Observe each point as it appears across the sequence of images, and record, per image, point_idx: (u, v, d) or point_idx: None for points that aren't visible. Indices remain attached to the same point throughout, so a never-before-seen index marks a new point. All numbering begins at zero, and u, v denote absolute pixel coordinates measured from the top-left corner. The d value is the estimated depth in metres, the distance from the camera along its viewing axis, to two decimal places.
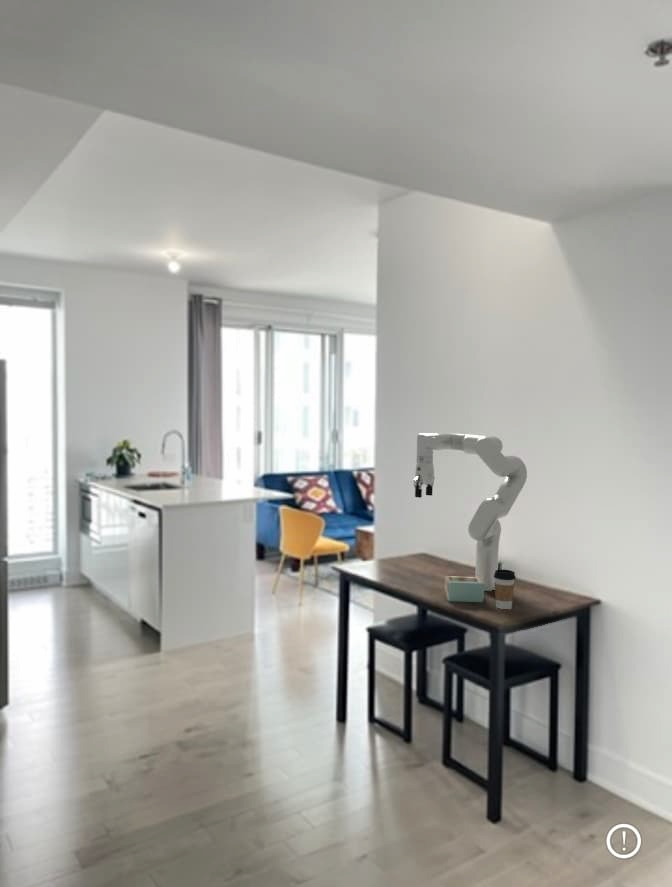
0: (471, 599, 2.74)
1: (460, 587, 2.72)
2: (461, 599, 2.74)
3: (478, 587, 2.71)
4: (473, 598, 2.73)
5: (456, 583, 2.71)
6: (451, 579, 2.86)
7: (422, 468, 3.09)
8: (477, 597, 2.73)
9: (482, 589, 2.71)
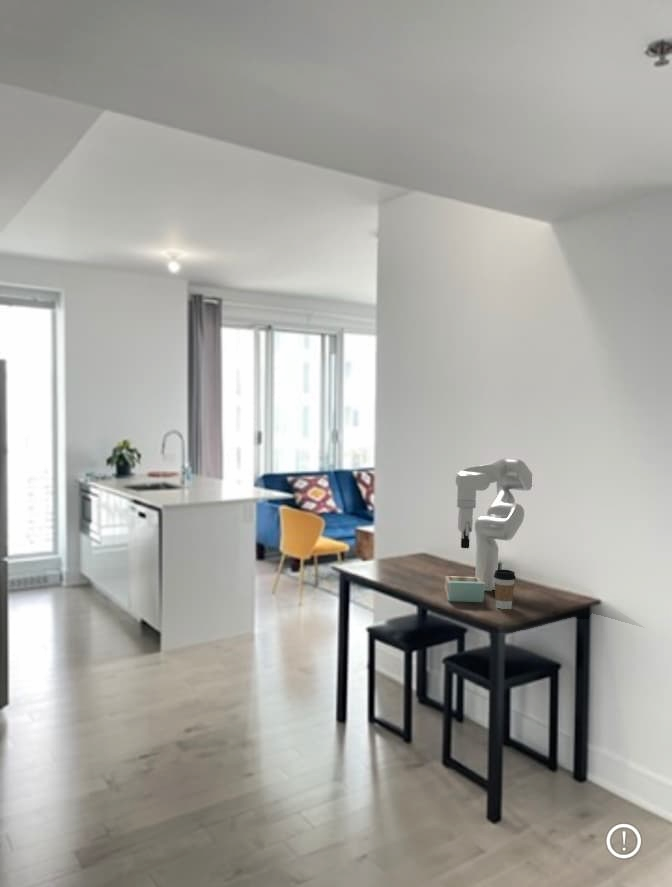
0: (471, 599, 2.74)
1: (460, 587, 2.72)
2: (461, 599, 2.74)
3: (478, 587, 2.71)
4: (473, 598, 2.73)
5: (456, 583, 2.71)
6: (451, 579, 2.86)
7: None
8: (477, 597, 2.73)
9: (482, 589, 2.71)
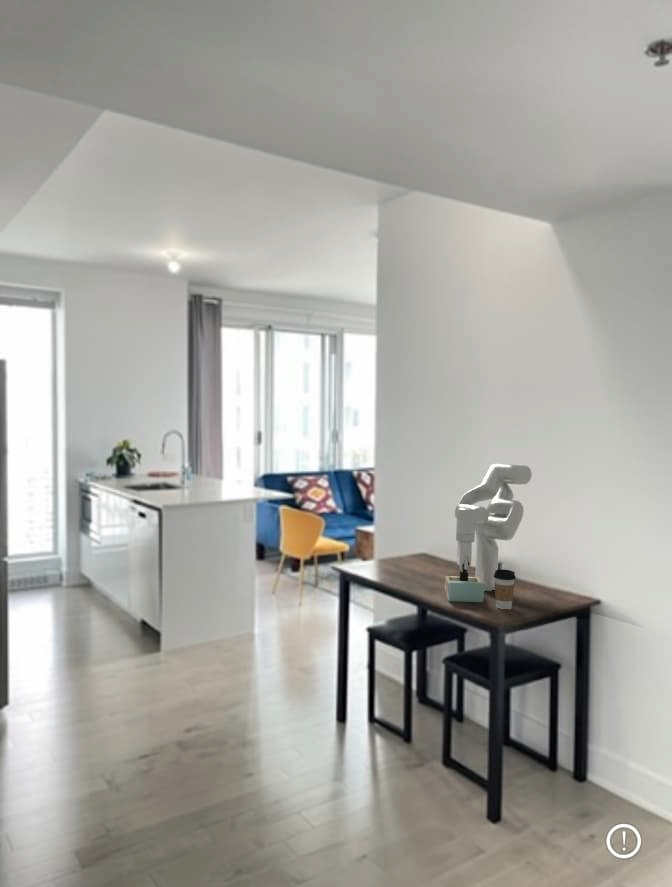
0: (471, 599, 2.74)
1: (460, 587, 2.72)
2: (461, 599, 2.74)
3: (478, 587, 2.71)
4: (473, 598, 2.73)
5: (456, 583, 2.71)
6: (451, 579, 2.86)
7: None
8: (477, 597, 2.73)
9: (482, 589, 2.71)
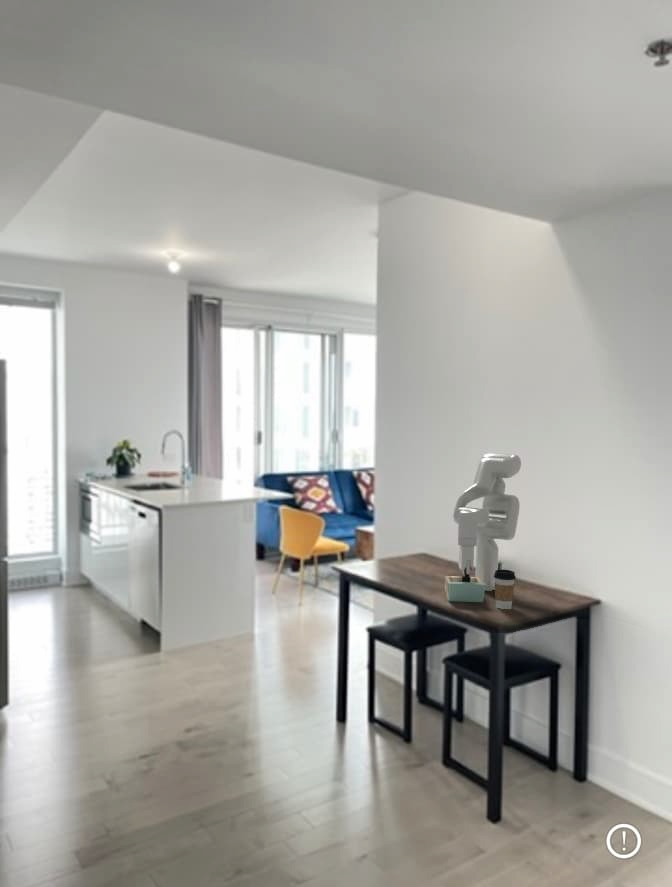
0: (471, 600, 2.74)
1: (460, 588, 2.71)
2: (461, 599, 2.74)
3: (478, 588, 2.71)
4: (473, 598, 2.73)
5: (456, 584, 2.70)
6: (451, 579, 2.86)
7: None
8: (477, 597, 2.73)
9: (482, 590, 2.71)
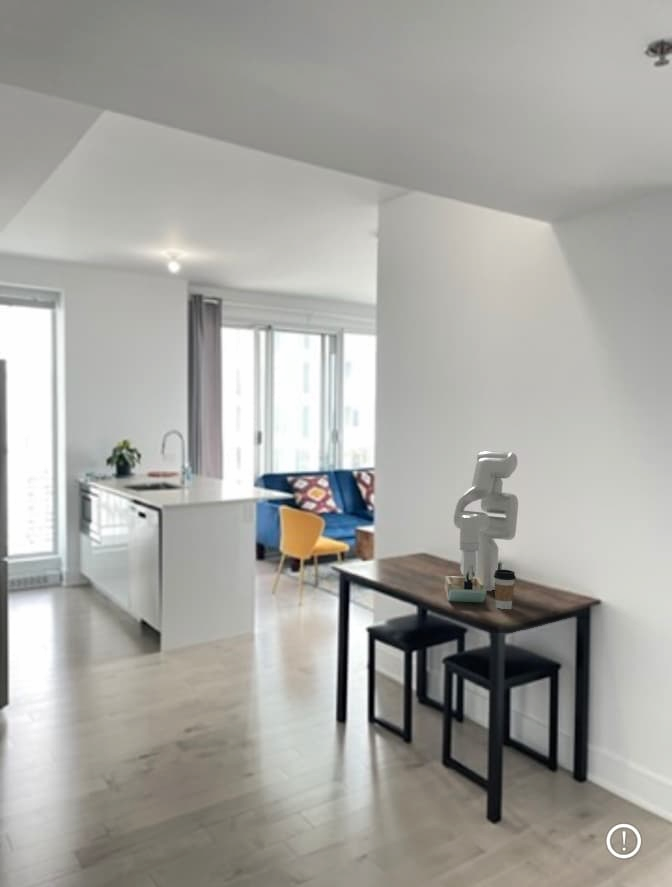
0: (471, 600, 2.73)
1: (461, 594, 2.69)
2: (461, 600, 2.73)
3: (479, 594, 2.68)
4: (473, 600, 2.73)
5: (457, 592, 2.67)
6: (451, 579, 2.86)
7: None
8: (477, 599, 2.72)
9: (483, 595, 2.69)
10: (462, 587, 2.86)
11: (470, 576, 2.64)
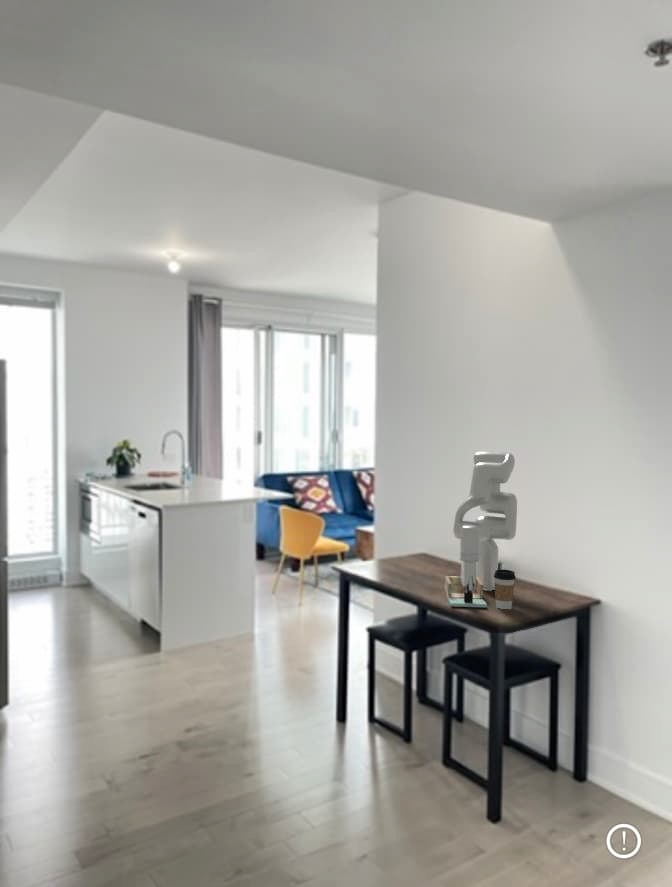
0: None
1: None
2: None
3: None
4: None
5: None
6: (451, 579, 2.86)
7: None
8: None
9: None
10: (462, 587, 2.86)
11: (470, 587, 2.62)
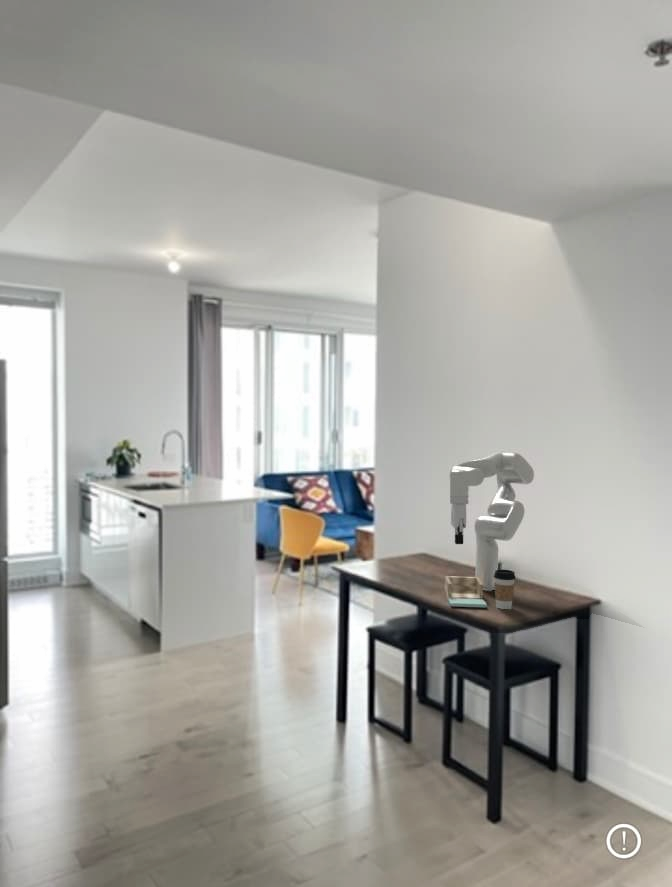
0: None
1: None
2: None
3: None
4: None
5: None
6: (451, 579, 2.86)
7: None
8: None
9: None
10: (462, 587, 2.86)
11: (461, 528, 2.73)
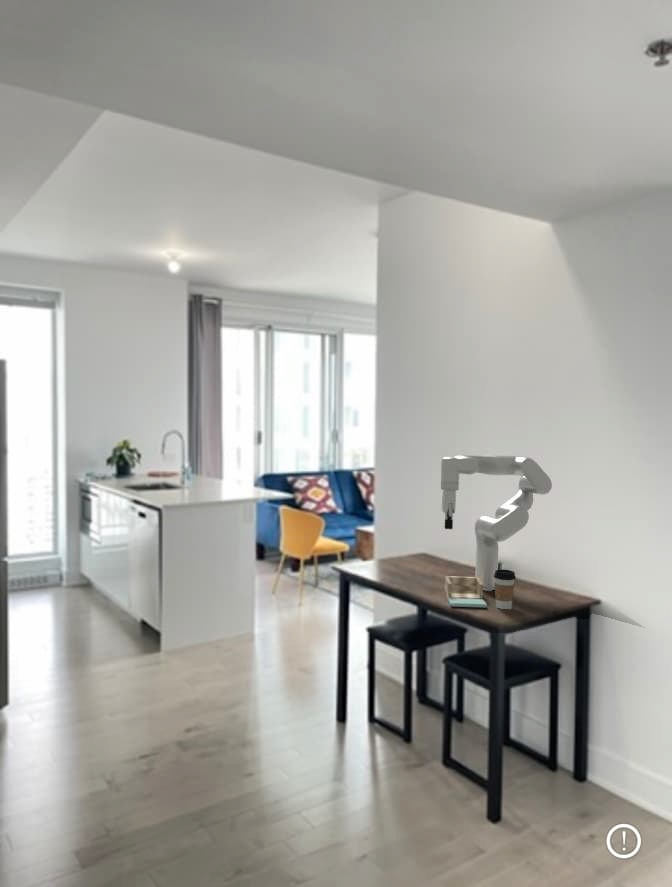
0: None
1: None
2: None
3: None
4: None
5: None
6: (451, 579, 2.86)
7: None
8: None
9: None
10: (462, 587, 2.86)
11: (450, 513, 2.83)
